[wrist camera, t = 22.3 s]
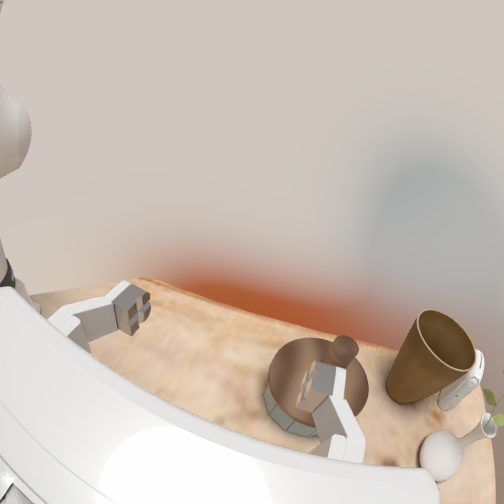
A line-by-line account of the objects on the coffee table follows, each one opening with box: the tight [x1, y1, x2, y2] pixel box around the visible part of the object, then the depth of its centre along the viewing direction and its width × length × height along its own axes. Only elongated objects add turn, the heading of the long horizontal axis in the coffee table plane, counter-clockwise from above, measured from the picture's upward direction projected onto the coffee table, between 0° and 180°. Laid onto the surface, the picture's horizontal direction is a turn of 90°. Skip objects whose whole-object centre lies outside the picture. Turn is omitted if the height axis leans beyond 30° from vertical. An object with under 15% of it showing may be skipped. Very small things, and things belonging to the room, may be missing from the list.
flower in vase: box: [420, 371, 504, 482], centre depth 23 cm, size 13×11×25 cm
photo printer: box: [438, 350, 484, 410], centre depth 39 cm, size 10×4×12 cm, turn 135°
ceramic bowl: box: [263, 382, 318, 437], centre depth 39 cm, size 14×14×6 cm
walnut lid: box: [268, 336, 369, 428], centre depth 35 cm, size 16×16×9 cm
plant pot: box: [386, 309, 476, 404], centre depth 40 cm, size 15×15×16 cm
